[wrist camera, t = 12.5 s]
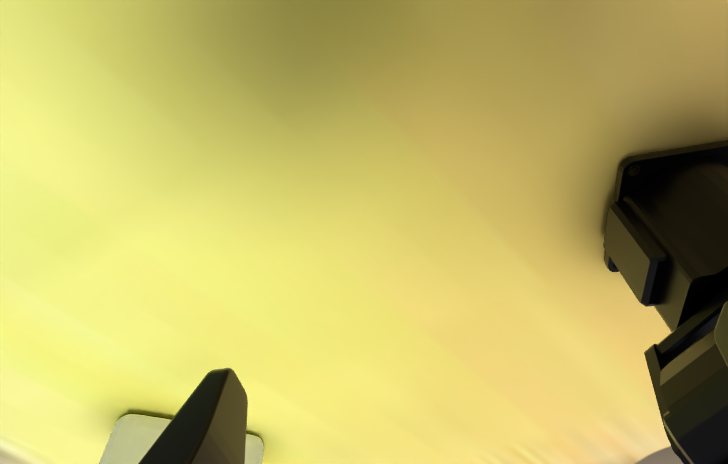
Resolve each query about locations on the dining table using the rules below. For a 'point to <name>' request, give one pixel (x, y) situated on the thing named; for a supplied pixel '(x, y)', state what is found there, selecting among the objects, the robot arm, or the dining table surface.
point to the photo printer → (142, 431)
